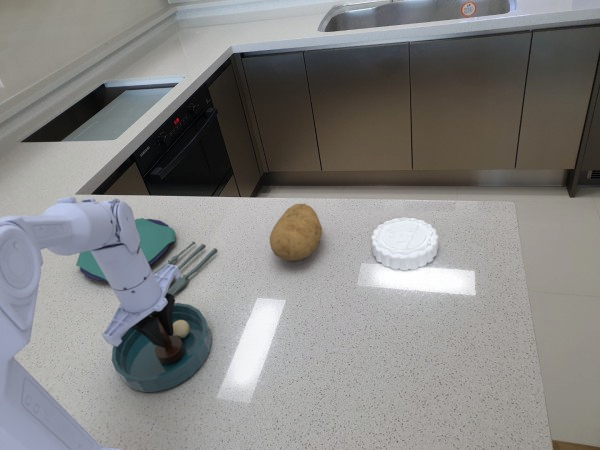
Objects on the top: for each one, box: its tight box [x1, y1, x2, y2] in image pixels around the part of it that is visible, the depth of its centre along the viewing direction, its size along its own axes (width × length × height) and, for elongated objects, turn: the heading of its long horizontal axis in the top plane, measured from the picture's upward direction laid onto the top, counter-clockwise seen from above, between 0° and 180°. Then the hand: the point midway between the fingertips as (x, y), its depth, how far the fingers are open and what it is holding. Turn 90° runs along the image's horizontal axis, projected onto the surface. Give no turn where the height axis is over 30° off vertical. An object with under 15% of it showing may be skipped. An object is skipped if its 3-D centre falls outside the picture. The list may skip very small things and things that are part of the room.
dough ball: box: [173, 320, 190, 338], centre depth 76 cm, size 3×3×3 cm
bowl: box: [111, 302, 213, 393], centre depth 74 cm, size 15×15×4 cm
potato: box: [269, 203, 323, 262], centre depth 88 cm, size 10×14×8 cm
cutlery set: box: [75, 217, 218, 296], centre depth 96 cm, size 20×30×2 cm, turn 56°
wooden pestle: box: [151, 314, 185, 364], centre depth 71 cm, size 4×4×9 cm
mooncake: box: [370, 216, 439, 272], centre depth 85 cm, size 12×12×4 cm
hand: (163, 338), depth 72 cm, fingers closed on wooden pestle
